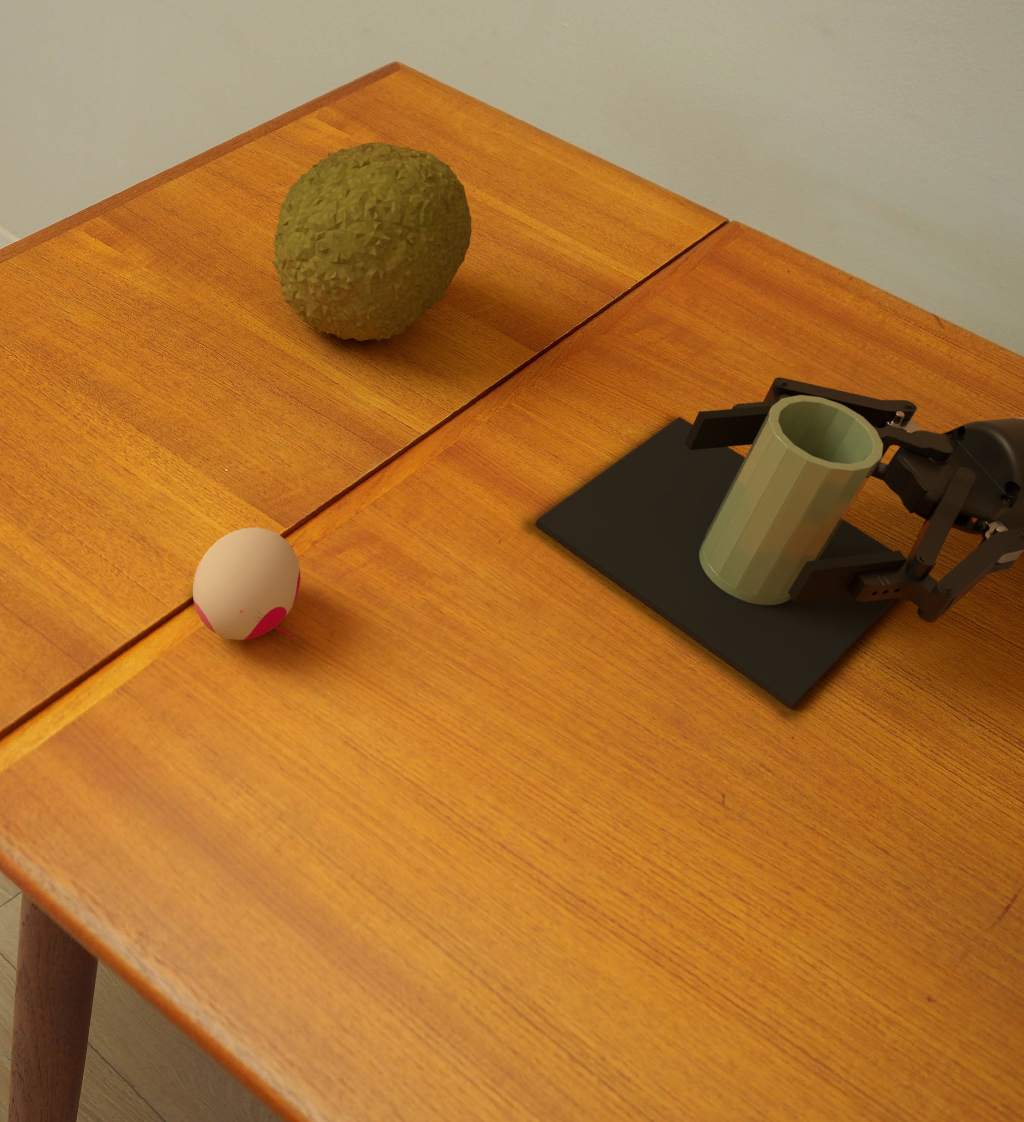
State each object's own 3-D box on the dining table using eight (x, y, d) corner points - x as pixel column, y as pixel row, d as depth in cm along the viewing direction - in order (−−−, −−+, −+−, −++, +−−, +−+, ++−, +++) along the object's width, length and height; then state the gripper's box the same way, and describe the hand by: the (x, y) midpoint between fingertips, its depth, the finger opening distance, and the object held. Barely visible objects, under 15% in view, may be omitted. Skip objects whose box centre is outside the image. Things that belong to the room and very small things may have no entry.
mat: (919, 575, 87) (923, 569, 87) (791, 709, 78) (795, 703, 77) (677, 422, 96) (679, 416, 96) (534, 525, 86) (536, 519, 86)
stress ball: (233, 699, 77) (297, 674, 72) (144, 604, 75) (203, 571, 70) (294, 619, 82) (359, 590, 77) (212, 528, 80) (272, 491, 75)
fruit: (250, 245, 106) (350, 83, 99) (393, 338, 108) (500, 185, 102) (225, 298, 91) (339, 112, 85) (390, 403, 94) (514, 230, 87)
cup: (818, 573, 85) (902, 439, 77) (767, 621, 82) (850, 486, 73) (731, 517, 88) (803, 381, 80) (679, 561, 85) (749, 423, 76)
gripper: (1112, 652, 79) (823, 696, 74) (889, 398, 96) (638, 418, 90) (1189, 571, 74) (883, 611, 69) (938, 316, 90) (674, 332, 85)
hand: (743, 502), depth 79 cm, fingers open, 13 cm apart
